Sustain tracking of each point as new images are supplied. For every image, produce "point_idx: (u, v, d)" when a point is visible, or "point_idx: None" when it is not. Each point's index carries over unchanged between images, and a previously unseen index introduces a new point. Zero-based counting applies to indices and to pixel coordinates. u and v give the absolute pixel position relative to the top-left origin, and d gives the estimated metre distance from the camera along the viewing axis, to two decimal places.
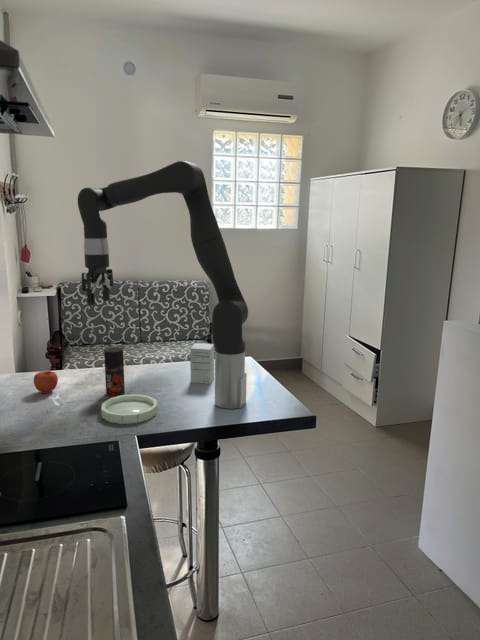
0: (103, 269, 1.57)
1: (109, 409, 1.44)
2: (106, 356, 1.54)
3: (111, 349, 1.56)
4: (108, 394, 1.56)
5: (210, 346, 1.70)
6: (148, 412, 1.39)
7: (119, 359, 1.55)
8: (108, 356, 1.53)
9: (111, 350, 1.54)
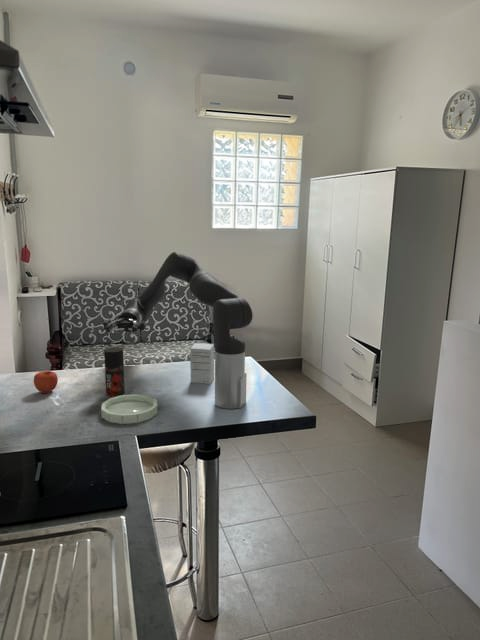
0: None
1: (109, 409, 1.44)
2: (106, 356, 1.54)
3: (111, 349, 1.56)
4: (108, 394, 1.56)
5: (210, 346, 1.70)
6: (148, 412, 1.39)
7: (119, 359, 1.55)
8: (108, 356, 1.53)
9: (111, 350, 1.54)
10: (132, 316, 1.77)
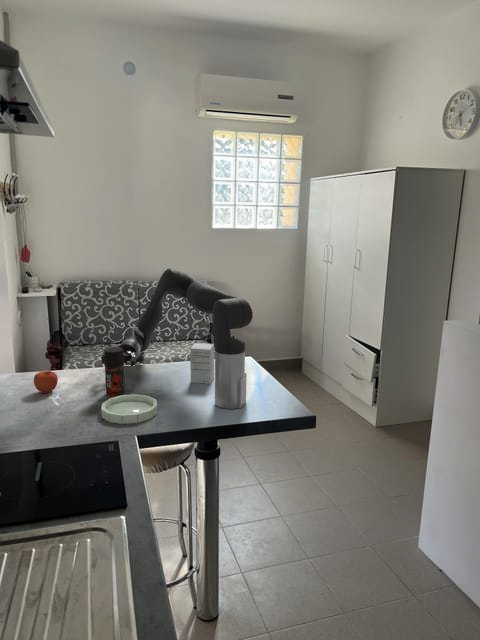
0: None
1: (109, 409, 1.44)
2: (106, 356, 1.54)
3: (111, 349, 1.56)
4: (108, 394, 1.56)
5: (210, 346, 1.70)
6: (148, 412, 1.39)
7: (119, 359, 1.55)
8: (108, 356, 1.53)
9: (111, 350, 1.54)
10: (130, 348, 1.74)
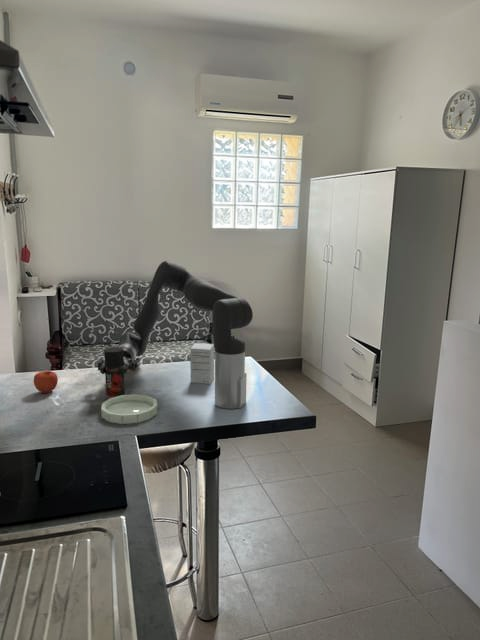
0: (125, 357, 1.66)
1: (109, 409, 1.44)
2: (106, 356, 1.54)
3: (111, 349, 1.56)
4: (108, 394, 1.56)
5: (210, 346, 1.70)
6: (148, 412, 1.39)
7: (119, 359, 1.55)
8: (108, 356, 1.53)
9: (111, 350, 1.54)
10: (126, 354, 1.66)
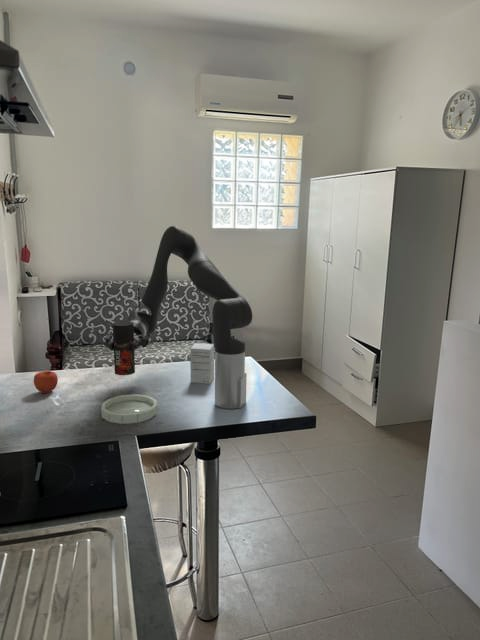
0: (135, 334, 1.52)
1: (109, 409, 1.44)
2: (115, 330, 1.40)
3: (120, 323, 1.43)
4: (117, 372, 1.43)
5: (210, 346, 1.70)
6: (148, 412, 1.39)
7: (129, 334, 1.41)
8: (117, 330, 1.40)
9: (120, 324, 1.41)
10: (136, 330, 1.53)
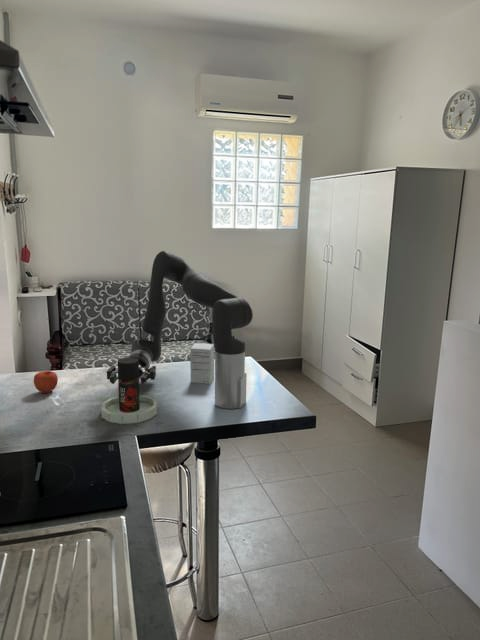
0: (139, 365, 1.51)
1: (109, 409, 1.44)
2: (120, 368, 1.39)
3: (125, 360, 1.41)
4: (122, 409, 1.42)
5: (210, 346, 1.70)
6: (148, 412, 1.39)
7: (135, 371, 1.40)
8: (122, 368, 1.39)
9: (125, 361, 1.40)
10: (140, 361, 1.51)
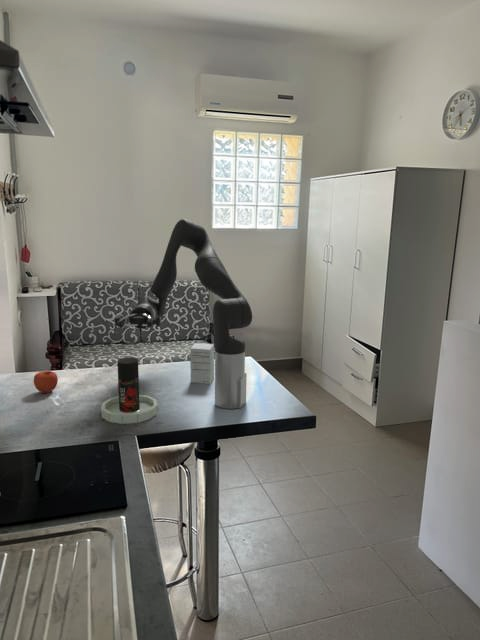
0: None
1: (109, 409, 1.44)
2: (120, 368, 1.39)
3: (125, 360, 1.41)
4: (122, 409, 1.42)
5: (210, 346, 1.70)
6: (148, 412, 1.39)
7: (134, 371, 1.40)
8: (122, 368, 1.39)
9: (125, 361, 1.40)
10: (146, 311, 1.61)
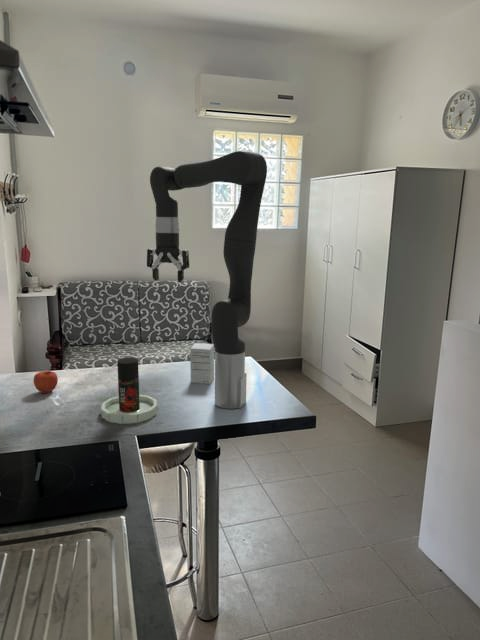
0: (171, 248, 1.57)
1: (109, 409, 1.44)
2: (120, 368, 1.39)
3: (125, 360, 1.41)
4: (122, 409, 1.42)
5: (210, 346, 1.70)
6: (148, 412, 1.39)
7: (134, 371, 1.40)
8: (122, 368, 1.39)
9: (125, 361, 1.40)
10: (169, 246, 1.56)
